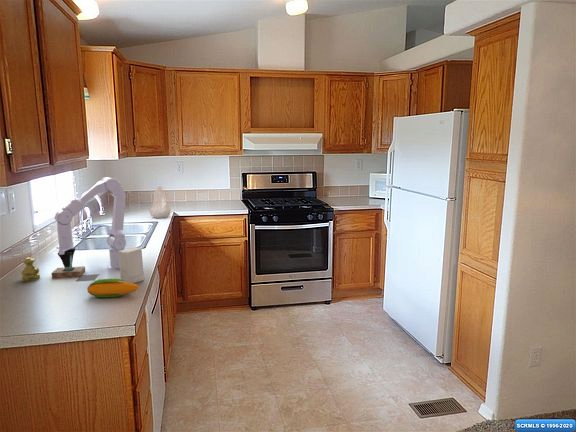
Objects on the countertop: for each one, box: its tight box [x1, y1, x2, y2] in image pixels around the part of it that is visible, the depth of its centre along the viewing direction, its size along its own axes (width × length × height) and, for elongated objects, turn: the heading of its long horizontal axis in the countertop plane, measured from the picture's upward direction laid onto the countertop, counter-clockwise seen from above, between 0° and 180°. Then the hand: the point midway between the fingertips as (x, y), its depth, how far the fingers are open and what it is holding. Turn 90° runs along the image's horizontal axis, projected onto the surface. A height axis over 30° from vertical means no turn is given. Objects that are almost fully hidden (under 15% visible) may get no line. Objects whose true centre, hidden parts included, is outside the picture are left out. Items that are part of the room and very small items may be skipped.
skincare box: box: [118, 246, 145, 284], centre depth 188 cm, size 8×6×15 cm
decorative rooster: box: [149, 185, 171, 219], centre depth 335 cm, size 25×16×25 cm, turn 16°
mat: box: [75, 273, 100, 282], centre depth 194 cm, size 8×9×1 cm
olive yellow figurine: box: [20, 257, 41, 283], centre depth 192 cm, size 7×7×10 cm
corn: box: [86, 278, 140, 298], centre depth 172 cm, size 7×8×20 cm
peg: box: [65, 257, 73, 271], centre depth 197 cm, size 3×3×9 cm
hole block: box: [51, 266, 86, 279], centre depth 198 cm, size 12×8×3 cm, turn 100°
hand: (68, 265), depth 197 cm, fingers closed on peg, 3 cm apart
